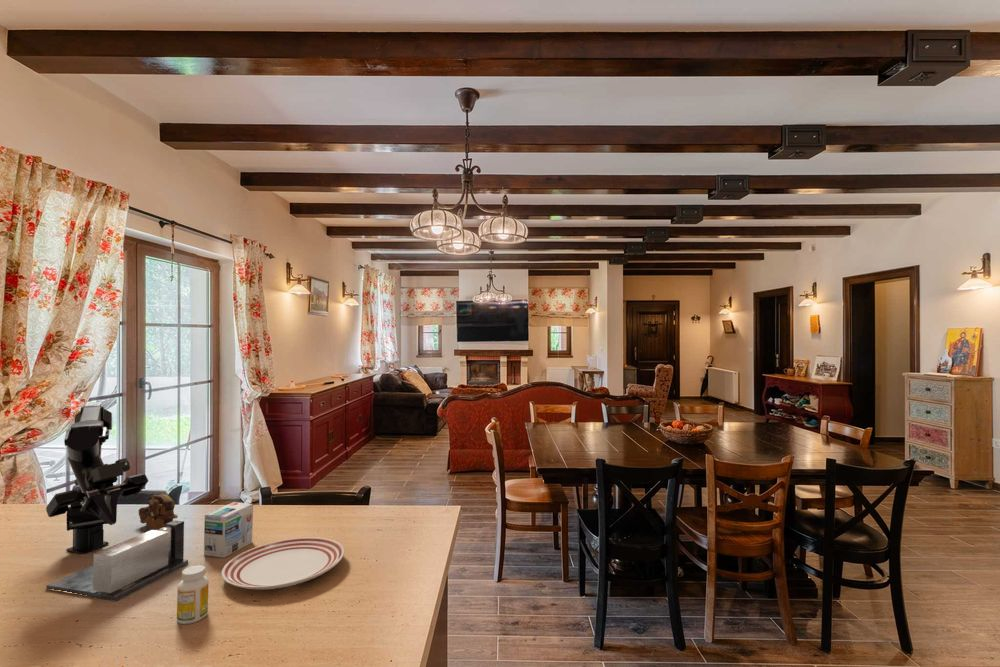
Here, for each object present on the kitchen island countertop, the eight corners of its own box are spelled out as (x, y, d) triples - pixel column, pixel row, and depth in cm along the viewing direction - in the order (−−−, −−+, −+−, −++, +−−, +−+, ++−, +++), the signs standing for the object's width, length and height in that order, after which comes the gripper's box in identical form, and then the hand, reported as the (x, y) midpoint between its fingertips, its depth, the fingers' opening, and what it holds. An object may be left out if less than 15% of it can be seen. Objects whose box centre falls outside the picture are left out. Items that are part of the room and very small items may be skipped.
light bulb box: (224, 558, 124) (225, 516, 125) (202, 556, 126) (203, 514, 126) (253, 541, 135) (254, 503, 135) (232, 539, 136) (233, 501, 136)
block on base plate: (46, 589, 108) (47, 544, 109) (128, 553, 127) (129, 515, 127) (116, 601, 104) (117, 554, 104) (191, 561, 122) (192, 522, 122)
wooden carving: (131, 527, 144) (131, 494, 145) (147, 522, 149) (148, 490, 149) (167, 536, 138) (167, 501, 138) (183, 530, 142) (183, 496, 142)
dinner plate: (192, 587, 110) (193, 573, 110) (284, 541, 136) (284, 529, 136) (287, 611, 101) (287, 595, 101) (366, 556, 126) (366, 544, 126)
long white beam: (92, 590, 105) (93, 553, 105) (161, 557, 121) (161, 525, 121) (110, 593, 104) (111, 556, 104) (177, 560, 120) (177, 527, 120)
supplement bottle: (181, 628, 94) (182, 578, 94) (172, 618, 98) (173, 570, 98) (212, 616, 98) (212, 569, 98) (202, 606, 102) (203, 561, 102)
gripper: (54, 458, 107) (79, 518, 103) (145, 442, 124) (170, 492, 120) (35, 487, 110) (59, 546, 106) (126, 467, 127) (150, 517, 123)
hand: (113, 523), depth 114 cm, fingers closed
